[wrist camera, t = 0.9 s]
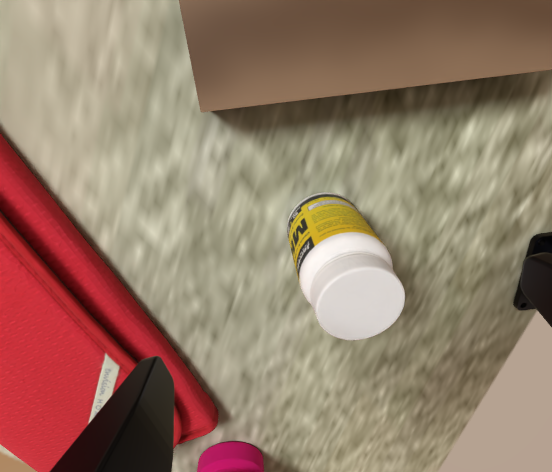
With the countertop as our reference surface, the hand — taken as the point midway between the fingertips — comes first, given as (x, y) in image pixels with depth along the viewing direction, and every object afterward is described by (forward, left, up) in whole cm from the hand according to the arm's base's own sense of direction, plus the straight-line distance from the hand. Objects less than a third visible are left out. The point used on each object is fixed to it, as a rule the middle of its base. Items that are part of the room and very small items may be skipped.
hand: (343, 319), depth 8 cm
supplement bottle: (-4, -2, -14) cm, 14 cm away
